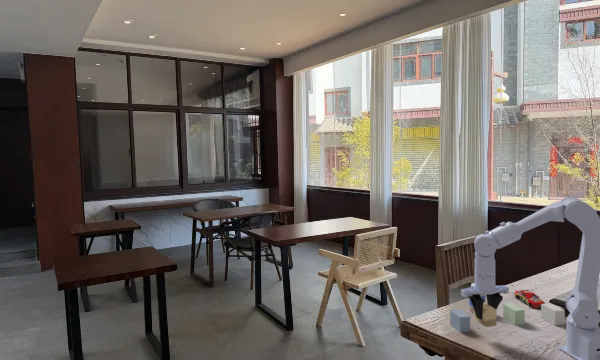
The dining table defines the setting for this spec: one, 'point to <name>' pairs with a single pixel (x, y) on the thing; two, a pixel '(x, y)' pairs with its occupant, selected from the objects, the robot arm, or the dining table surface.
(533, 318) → the dining table surface
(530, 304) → the race car
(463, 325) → the slate-blue brick
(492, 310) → the oak brick
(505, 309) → the sage brick
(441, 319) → the dining table surface
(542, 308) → the grey brick
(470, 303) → the pill bottle
